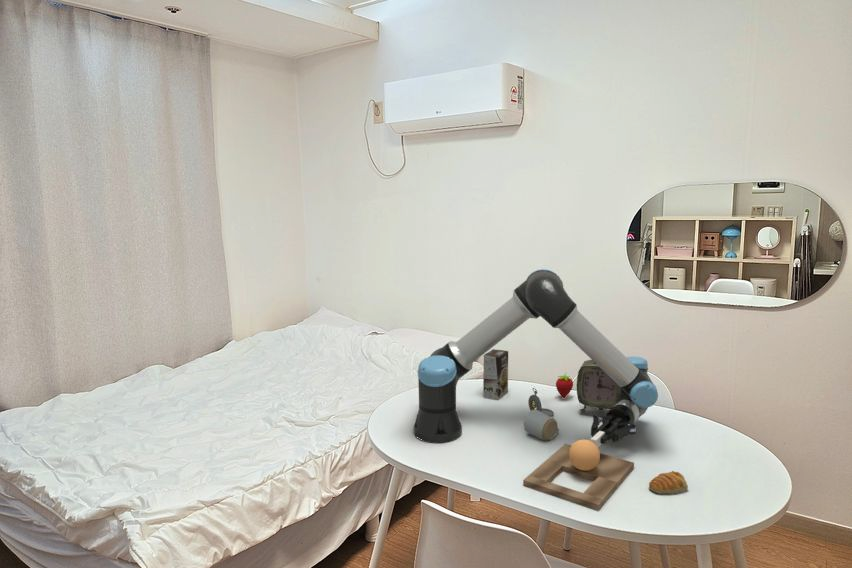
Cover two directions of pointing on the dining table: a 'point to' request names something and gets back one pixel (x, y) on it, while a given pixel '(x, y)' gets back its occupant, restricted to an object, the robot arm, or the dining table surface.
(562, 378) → the strawberry
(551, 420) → the ceramic mug
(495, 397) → the coffee box
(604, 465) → the hole board
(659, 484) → the pastry
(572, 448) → the ball
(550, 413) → the pocket watch
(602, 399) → the tabletop clock
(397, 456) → the dining table surface
